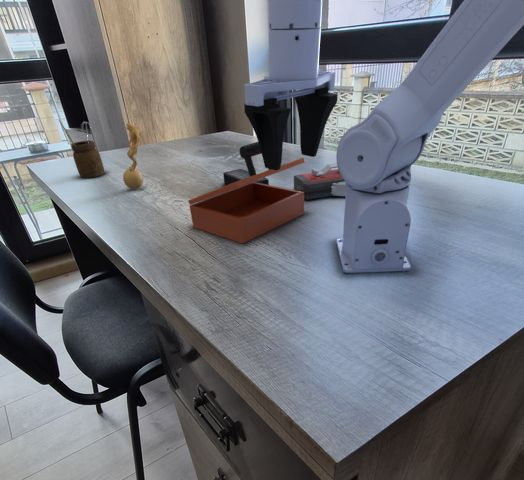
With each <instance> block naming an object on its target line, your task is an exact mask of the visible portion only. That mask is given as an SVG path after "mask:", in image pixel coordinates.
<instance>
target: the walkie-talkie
mask: <svg viewBox="0 0 524 480" xmlns="http://www.w3.org/2000/svg"><path fill="white" fill-rule="evenodd" d="M335 168H336V169H335ZM345 183H346V181H345V180H344V179H343V177H342V176H341V174H340V172H339V169H338V166H337V162H334V163H328V164H326V165H324V167H323V168H322V169H321V170H319V169H318V168H315V167H314V168H313V167H312V168H311V172H308V173H301V174H296V175H293V190H296V191H301V192H304V200H308V201H310V200H314V199H317V200H318V199H322V198H328V197H346V187H345Z"/></svg>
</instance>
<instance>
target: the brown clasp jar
mask: <svg viewBox="0 0 524 480" xmlns="http://www.w3.org/2000/svg"><path fill="white" fill-rule="evenodd" d="M58 122H59V123H60V125H61V127H62V128H63V131H64V132H65V133H66V135H67V137H68V139H69V140H70V142H71V143H72V144H70V145H71V150H72V151H73V153H72V156H73V161H74V163H75V166H76V169H77V172H78V175H79V177H80V178H81V179H82V178H83V179H91V178H97V177H100V176H103V175H104V174H105V168H104V164H103V161H102V157H101V154H100V152H99V150H97V148H96V147H97V146H96V144H95V141H93V138H94V137H90V140H89V136H86V137H87V140H86V137H85V132H84V130H83V129H84V124H85V126H89V130H90V136H93V134H94V132H93V130H92V128H93V126H92V125H91V124H90V122H88V121H83V122H82V124H81V128H80V129H81V130H80V131H81V132H82V134H81V136H82V138H83V140H81V141H76V142H74V141H73V139H72V138H71V136H70V134H69V133H68V130H67V129H66V128H65V126H64V125H63V122H62V121H61V120H60V119H58ZM87 124H88V125H87ZM85 130H86V133H89V131H88V128H85Z"/></svg>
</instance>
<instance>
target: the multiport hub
mask: <svg viewBox="0 0 524 480" xmlns="http://www.w3.org/2000/svg"><path fill="white" fill-rule="evenodd" d="M222 175H223V176H222V177H223V182H224V186H227V185H229V184H232V183H234V182H237V181H240V180H243V179H245V178H248V177H250V175H249V172H248V170H245V169H244V168H237V169H233V170H229V171H225V172H222ZM269 180H270V179H269V178H267V177H264V178H262V179H259V180H256V181H254V182H256V183H261V184H266V185H270V183H269V182H270V181H269ZM245 185H246V184H245ZM237 188H238V187H237Z"/></svg>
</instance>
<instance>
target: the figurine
mask: <svg viewBox="0 0 524 480" xmlns="http://www.w3.org/2000/svg"><path fill="white" fill-rule="evenodd" d="M126 130H128V131H129V132H128V135H129V141H128V143H127V148H128V150H127V153H126V155H127V157H128V158H129V159H130V160H131V161H132V164H131V166H129V167H128V169H126V170H125V171H124V172H123V173H122V181H123V183H124V185H125V186H126V187H127V188H129V189H131V190H138V189H140V188H141V187H142V186H143V183H144V176H143V175H142V173H141V172H140V170H138V169H136V167H137V165H138V161H137V158H136V157H135V156H137V155H138V148H139V145H140V141H141V138H142V135H143V129H142V127H141V126H140V125H137V124H136V125H135V124H132V123H130V122H127V123H126Z"/></svg>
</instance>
